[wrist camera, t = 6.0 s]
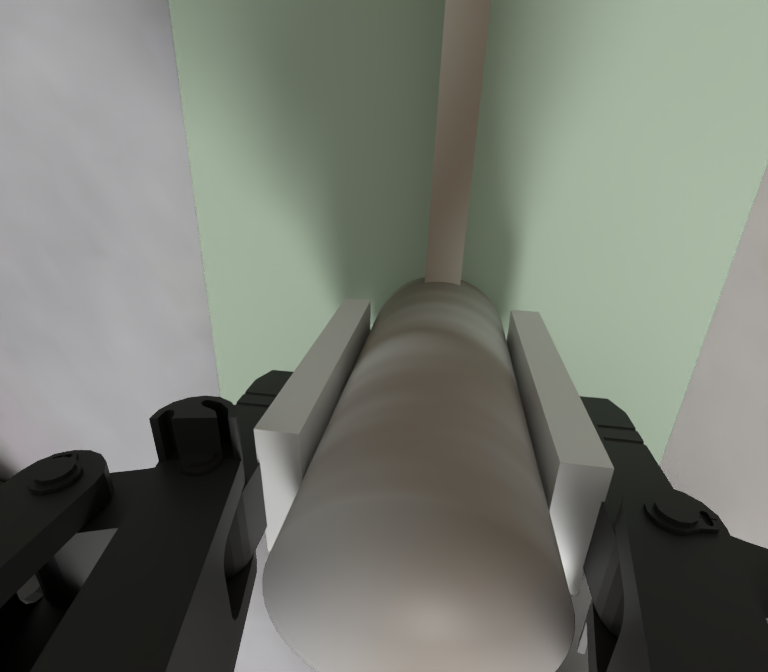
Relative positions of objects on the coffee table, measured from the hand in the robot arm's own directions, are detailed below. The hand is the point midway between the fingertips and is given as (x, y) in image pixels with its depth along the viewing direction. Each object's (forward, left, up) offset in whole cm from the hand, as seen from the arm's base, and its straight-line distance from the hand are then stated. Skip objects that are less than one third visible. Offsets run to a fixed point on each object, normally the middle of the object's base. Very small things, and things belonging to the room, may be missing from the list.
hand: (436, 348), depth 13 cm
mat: (0, +3, -2) cm, 4 cm away
